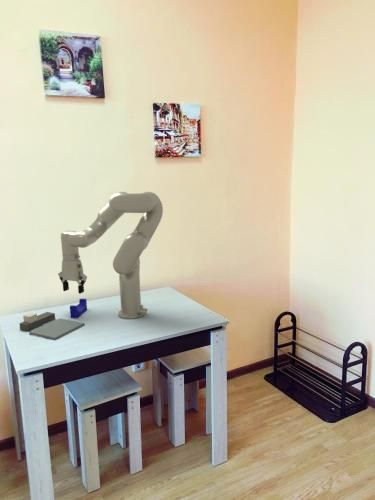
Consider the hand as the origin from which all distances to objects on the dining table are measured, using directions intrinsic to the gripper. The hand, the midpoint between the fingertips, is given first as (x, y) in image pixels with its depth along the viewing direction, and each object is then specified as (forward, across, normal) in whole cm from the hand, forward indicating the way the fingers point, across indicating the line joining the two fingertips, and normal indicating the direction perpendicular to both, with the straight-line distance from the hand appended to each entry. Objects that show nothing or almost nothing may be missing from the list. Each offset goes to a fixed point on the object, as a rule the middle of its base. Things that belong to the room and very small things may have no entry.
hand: (73, 291), depth 200 cm
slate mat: (+11, -7, +19) cm, 23 cm away
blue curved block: (+12, -1, 0) cm, 12 cm away
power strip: (+11, +6, +18) cm, 22 cm away
